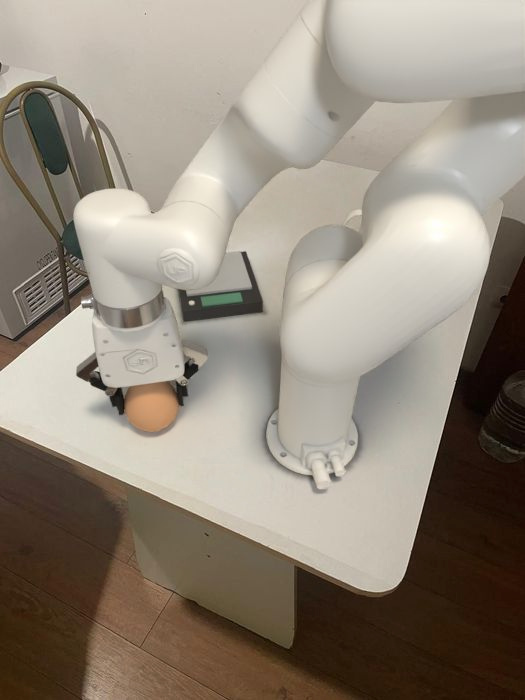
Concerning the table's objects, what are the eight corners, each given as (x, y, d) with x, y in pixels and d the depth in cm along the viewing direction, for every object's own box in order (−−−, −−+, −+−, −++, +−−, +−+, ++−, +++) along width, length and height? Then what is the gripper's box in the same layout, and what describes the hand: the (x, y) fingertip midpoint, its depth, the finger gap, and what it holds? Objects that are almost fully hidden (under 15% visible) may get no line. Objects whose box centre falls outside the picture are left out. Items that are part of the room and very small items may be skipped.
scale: (262, 312, 91) (263, 298, 89) (183, 322, 89) (181, 308, 87) (246, 261, 102) (245, 248, 100) (175, 269, 100) (173, 255, 98)
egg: (144, 452, 69) (134, 411, 63) (120, 417, 74) (108, 376, 68) (191, 426, 73) (185, 385, 67) (165, 394, 77) (158, 353, 71)
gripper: (46, 332, 54) (84, 434, 66) (211, 312, 57) (218, 414, 69) (52, 289, 59) (86, 391, 71) (203, 273, 62) (211, 374, 74)
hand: (151, 402), depth 70 cm, fingers closed on egg, 7 cm apart
